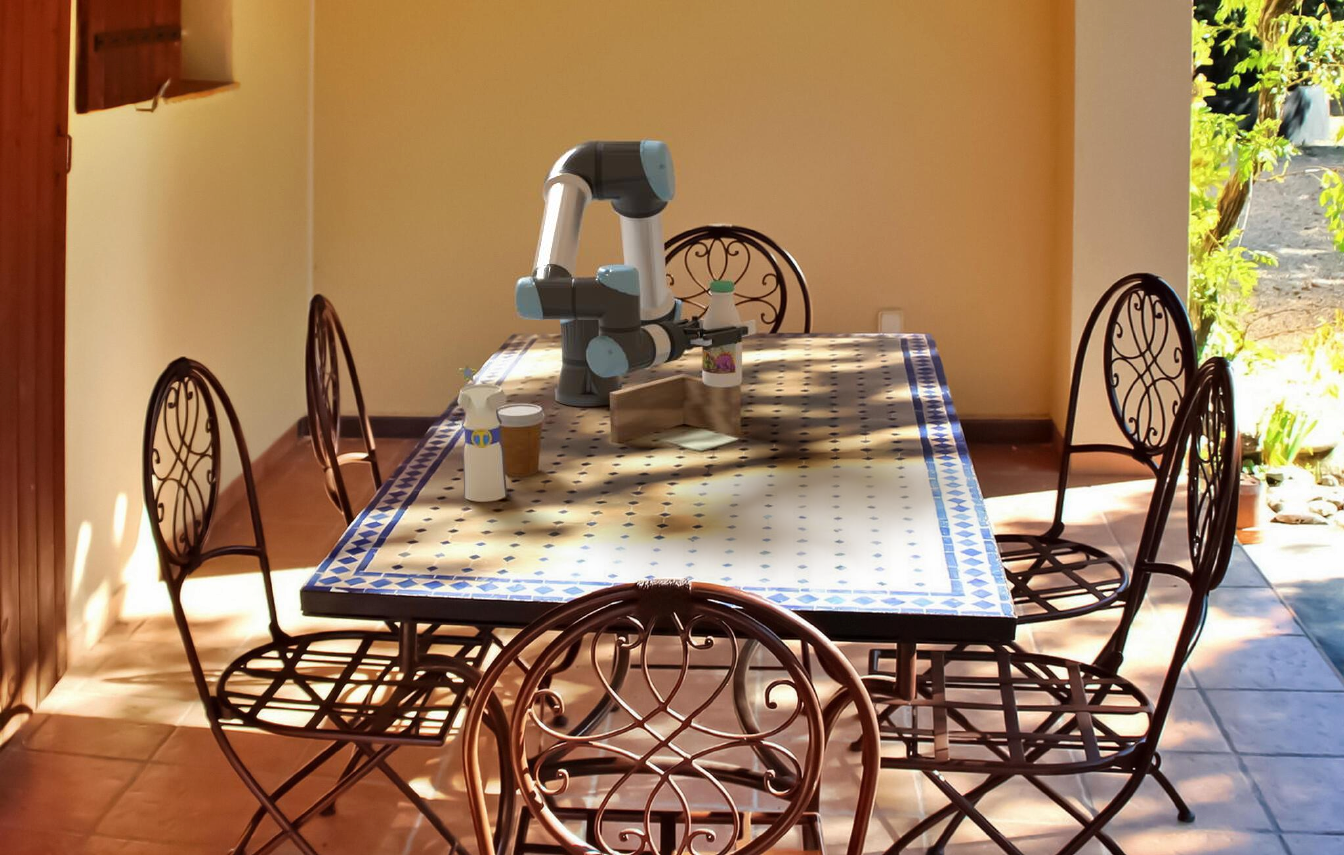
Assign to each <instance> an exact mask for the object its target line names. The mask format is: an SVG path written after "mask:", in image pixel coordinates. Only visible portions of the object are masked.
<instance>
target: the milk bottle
mask: <svg viewBox="0 0 1344 855" xmlns="http://www.w3.org/2000/svg"><path fill="white" fill-rule="evenodd" d="M709 290H710V293H709V294H711V298H710V302H709V305H708V308H707V311H706V313H705V315H704V317H703V318H704V321H703V329H705V330H707V329H716V328H725V327H731V325H733V324H737V323H741V322H742V320H741V316H740V314H739V311H738V309H737V308H736V304H735V301H734V294H735V282H734V281H732V280H714V281H711V282H710V286H709ZM701 349H702V351H701V352H702V354H701V355H702V357H701V358H702V359H701V360H702V364H701V365H702V366H701V367H702V371H701V372H702V376H701V378H703V383H704V384H705V385H708V386H713V387H731V386H736V385H737V386H740V384H742V380H743V341H742V342H738V343H737V344H734V343H733V344H728V345H723V346H718V347H713V348H711V349H708V350H704V349H703V347H701Z"/></svg>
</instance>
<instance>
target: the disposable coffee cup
mask: <svg viewBox="0 0 1344 855" xmlns="http://www.w3.org/2000/svg"><path fill="white" fill-rule="evenodd" d="M498 415H499V418H500V419H501V420H502V423H501V425H500V437H501V441H502V444H503V449H504V464H505V475H506V476H511V477H528V476H532V475H534V474H536V473H537V472H538V471H539V463H540V462H539V461H540V453H541V452H540V451H541V450H540V449H541V440H542V429H543V421H544V418H545V413H544V412H543V408H542V406H540V405H536V404H531V403H512V404H506V405H505V404H504V405H503V406H501V407H500V408H498Z"/></svg>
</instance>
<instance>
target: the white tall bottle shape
mask: <svg viewBox="0 0 1344 855" xmlns="http://www.w3.org/2000/svg"><path fill="white" fill-rule="evenodd" d="M458 371H459V372H460V373H462V375H463V376H462V382H464V381H467V380H469V381H471V382H473V383H474V382H475V380H474V377H473V375H474V374H475V373H477V371H478V370H477V369H474V368H473V369H472V368H471V367H470V365H469V363H468V362H467V363H466V365H465V367H464V368H458ZM507 400H508V398H507V394H506V393H505V392H504V389H503V388H502V386H500V385H496V384H488V383H487V384H486V383H484V384H481V383H480V384H473V385H468V386H464V387H463V388H461V389H460V391H459V395H458V398H457V404H458V405H459V406H460V407H461V408H462V410H464V418H463V420H462V421H461V426H463V428H464V443H463V447H462V449H463V450H462V456H463V457H462V461H463V498H465V499H466V500H467V501H472V502H493V501H499V500H501V499H503V498H506V497H507V496H508V488H507V479H506V476H507V475H506V474H505V464H504V449H503V444H502V441H501V437H500V425H501V423H502V420H501V419H500V418H499V415H498V408H500V407H501V406H505V404H506V403H507Z"/></svg>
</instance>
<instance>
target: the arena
mask: <svg viewBox="0 0 1344 855" xmlns="http://www.w3.org/2000/svg"><path fill="white" fill-rule="evenodd" d="M609 411H610V412H609V418H610V419H609V420H610V423H609V424H610V441H611V442H613V443H616V444H618V443H622V442H625V441H629V440H633V439H637V438H639V437H644V436H647V435H650V434H653V433H656V432H660V431H663V430H666V429H670V428H673V427H677V426H680V425H684V424H685V425H688V426H691V427H696V429H691V430H689V431H685V432H682V433H680V434H675V435H671V436H669V437H665V438H663V439H662V438H661V439H660V442H662V443H666V444H669V445H673V446H676V447H681V448H685V449H689V450H691V451H696V452H700V453H702V452H705V451H707V450H711V449H714V448H718V447H720V446H724V445H727V444H730V443H733V442H737V441H739V438H737V437H735V436H738V435H741V434H742V432H741V422H742V420H741V385H736V386H731V387H713V386H708V385H705V384H704V383H703V377H702V376H695V375H691V374H686V373H681V374H675V375H673V376H669V377H668V376H667V377H665V378H661V379H658V380H653V381H650V382H649V381H648V382H645V383H642V384H638V385H634V386H629V387H626V388H623V389H622V390H618V391H614V392H610V404H609Z"/></svg>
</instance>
